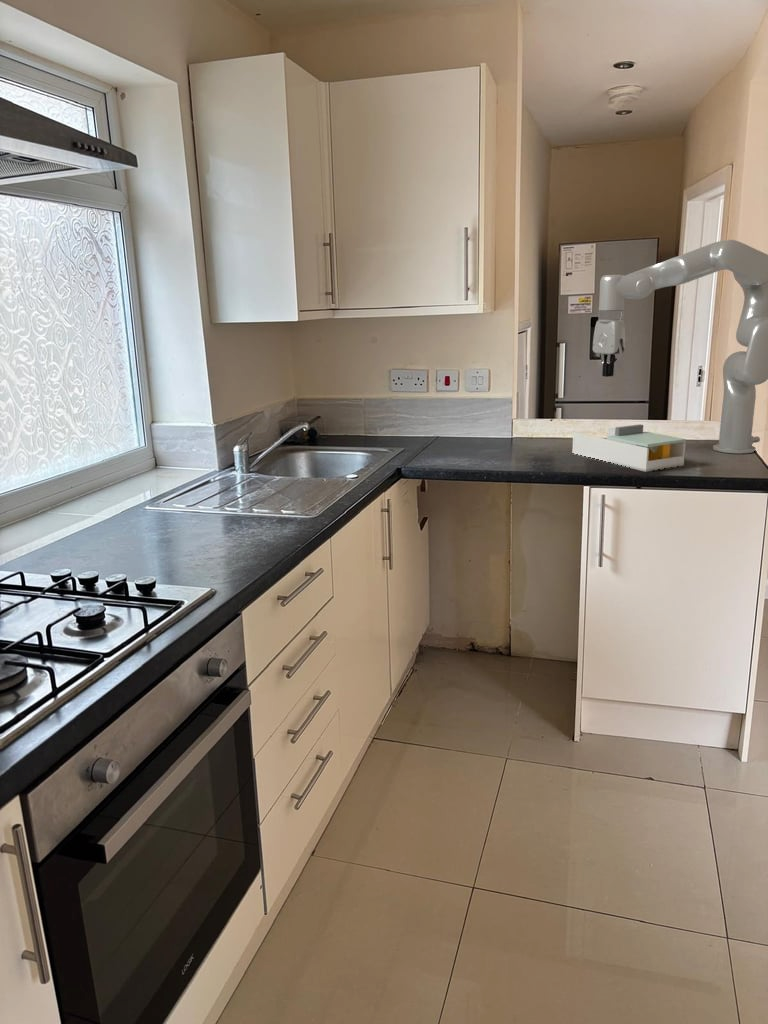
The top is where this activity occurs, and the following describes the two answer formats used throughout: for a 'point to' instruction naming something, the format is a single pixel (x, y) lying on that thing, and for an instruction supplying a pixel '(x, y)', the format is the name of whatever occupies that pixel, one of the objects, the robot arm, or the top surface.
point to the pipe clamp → (659, 452)
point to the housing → (626, 452)
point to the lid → (642, 436)
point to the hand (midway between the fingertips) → (607, 376)
